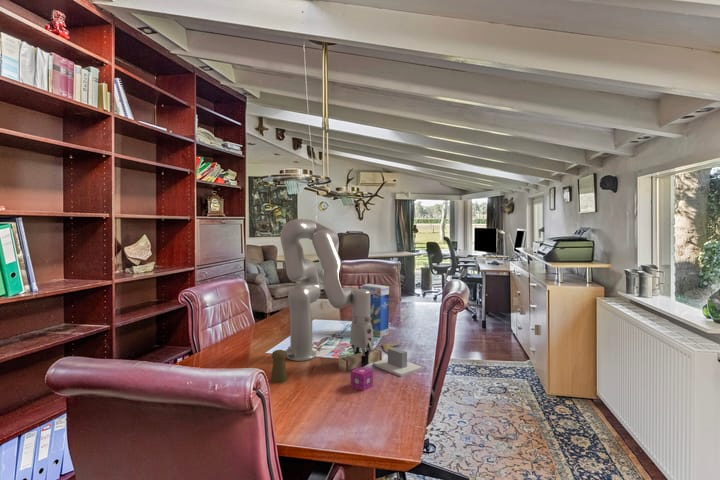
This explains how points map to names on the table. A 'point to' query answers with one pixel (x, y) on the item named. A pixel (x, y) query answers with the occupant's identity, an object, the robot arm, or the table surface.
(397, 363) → the ridge block
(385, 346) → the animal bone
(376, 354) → the beech bar
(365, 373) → the puzzle toy
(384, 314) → the string lights box
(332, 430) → the table surface
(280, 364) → the cork
